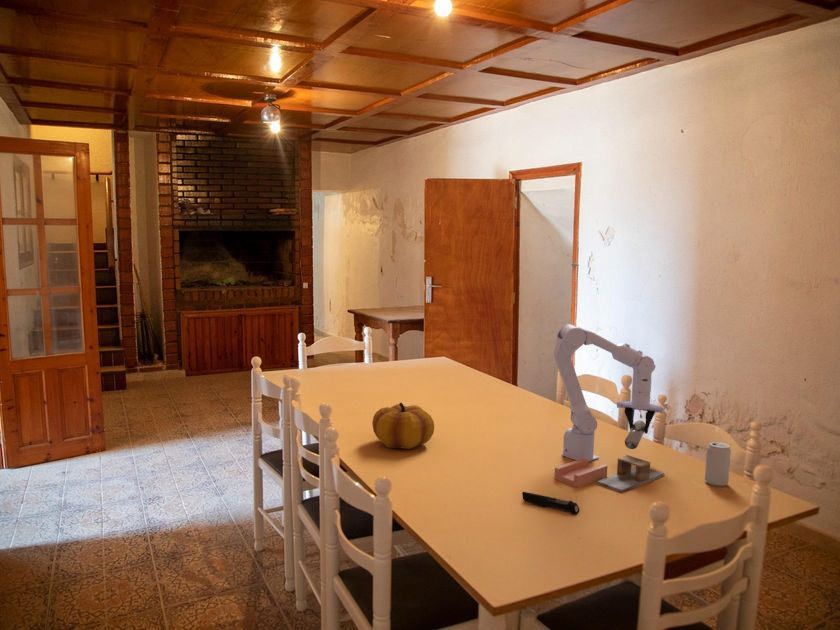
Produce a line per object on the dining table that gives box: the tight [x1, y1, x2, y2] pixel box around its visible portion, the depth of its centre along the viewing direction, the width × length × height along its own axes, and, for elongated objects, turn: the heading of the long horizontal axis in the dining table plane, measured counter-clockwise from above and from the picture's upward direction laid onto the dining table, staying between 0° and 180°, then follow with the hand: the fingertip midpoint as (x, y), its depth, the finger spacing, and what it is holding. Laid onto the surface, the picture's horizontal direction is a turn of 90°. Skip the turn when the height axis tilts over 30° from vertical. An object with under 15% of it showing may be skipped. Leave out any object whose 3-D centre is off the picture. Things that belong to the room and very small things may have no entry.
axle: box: [624, 420, 646, 450], centre depth 206 cm, size 16×4×4 cm, turn 152°
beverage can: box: [704, 441, 732, 487], centre depth 191 cm, size 6×6×12 cm
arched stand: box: [596, 454, 665, 494], centre depth 193 cm, size 8×22×6 cm, turn 129°
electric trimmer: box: [521, 491, 580, 516], centre depth 173 cm, size 4×16×3 cm, turn 59°
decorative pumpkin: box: [371, 402, 435, 450], centre depth 223 cm, size 20×22×15 cm
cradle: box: [553, 458, 608, 488], centre depth 194 cm, size 9×14×4 cm, turn 129°
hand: (638, 431), depth 212 cm, fingers closed on axle, 4 cm apart
